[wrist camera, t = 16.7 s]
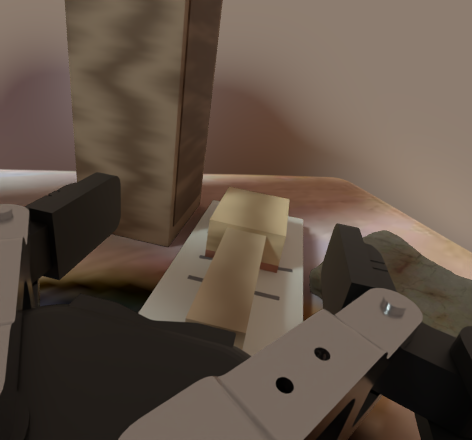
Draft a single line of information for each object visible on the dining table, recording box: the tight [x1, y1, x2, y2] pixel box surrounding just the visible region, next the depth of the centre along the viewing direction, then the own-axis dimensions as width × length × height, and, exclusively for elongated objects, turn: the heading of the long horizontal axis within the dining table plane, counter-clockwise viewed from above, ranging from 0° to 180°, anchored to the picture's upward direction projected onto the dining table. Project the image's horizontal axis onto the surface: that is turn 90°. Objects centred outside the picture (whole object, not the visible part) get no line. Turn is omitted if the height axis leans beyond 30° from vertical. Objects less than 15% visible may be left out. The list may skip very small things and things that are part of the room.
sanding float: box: [185, 187, 290, 350], centre depth 29 cm, size 7×21×4 cm, turn 170°
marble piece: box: [309, 230, 472, 338], centre depth 31 cm, size 17×15×4 cm
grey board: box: [138, 200, 303, 356], centre depth 33 cm, size 12×24×2 cm, turn 169°
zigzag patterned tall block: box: [65, 0, 223, 247], centre depth 34 cm, size 10×12×32 cm
